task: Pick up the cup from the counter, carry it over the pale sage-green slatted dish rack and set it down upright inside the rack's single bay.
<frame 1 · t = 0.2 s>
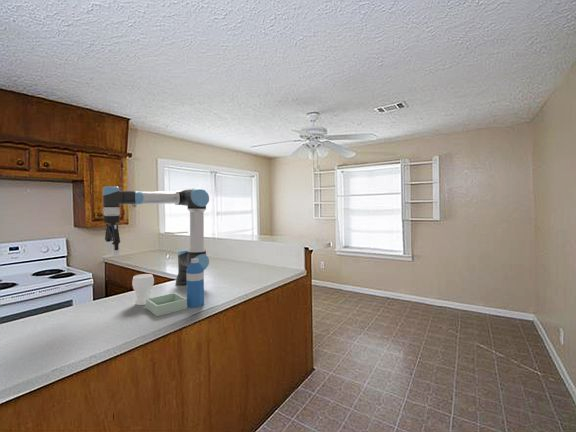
hand: (112, 254, 155), 27 cm above the worktop, fingers open, 13 cm apart
dish rack: (166, 308, 151), on the worktop
water bottle: (195, 304, 157), on the worktop
cup: (143, 303, 160), on the worktop
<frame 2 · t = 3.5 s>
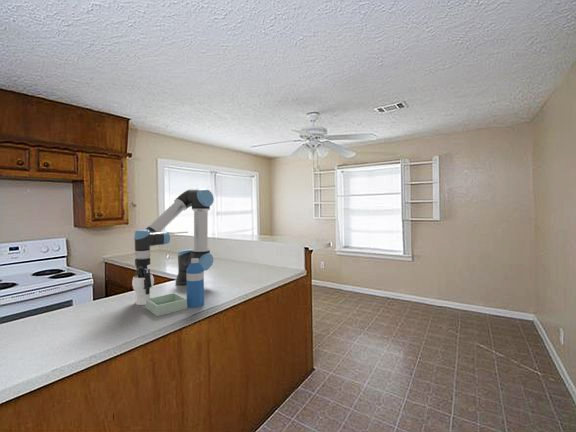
hand: (143, 297, 159), 3 cm above the worktop, fingers closed on cup, 11 cm apart
cup: (143, 303, 160), on the worktop, touching gripper
everything else where it was.
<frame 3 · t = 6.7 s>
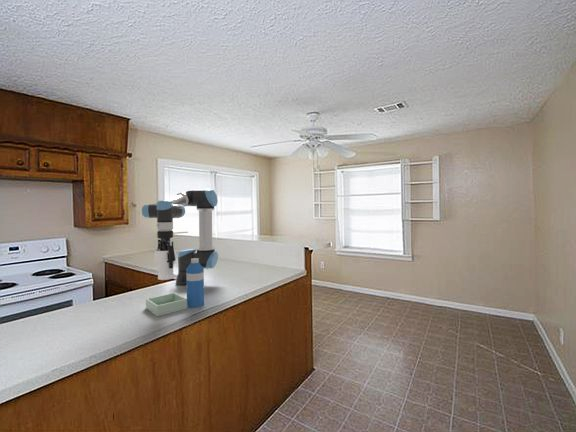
hand: (165, 272, 150), 19 cm above the worktop, fingers closed on cup, 10 cm apart
cup: (165, 278, 150), point 16 cm above the worktop, touching gripper
everything else where it was.
when the fingers open (6 cm above the worktop, at t = 9.9 s): cup drops 2 cm, resting on dish rack.
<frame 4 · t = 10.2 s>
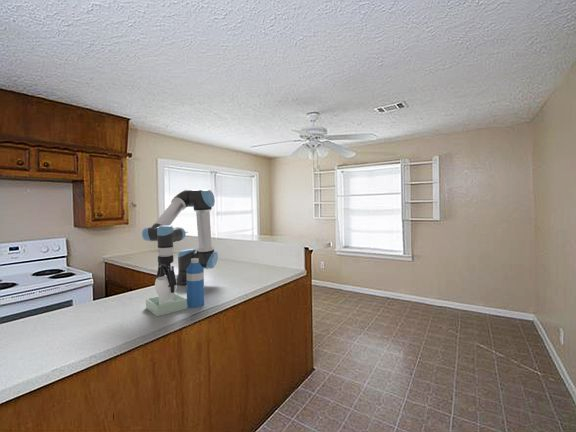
hand: (166, 295, 151), 7 cm above the worktop, fingers open, 13 cm apart
cup: (166, 306, 151), point 1 cm above the worktop, touching dish rack
everything else where it was.
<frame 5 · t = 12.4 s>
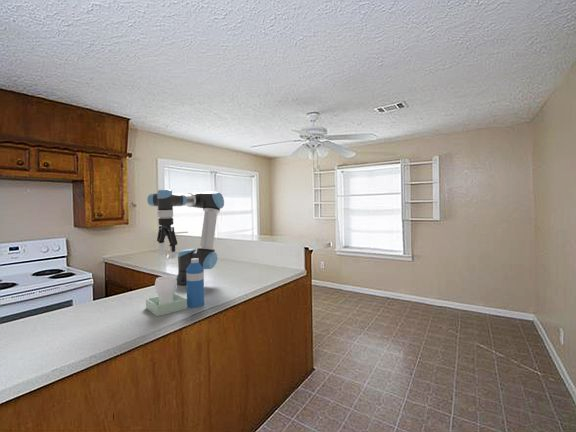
hand: (167, 255, 160), 26 cm above the worktop, fingers open, 13 cm apart
nothing on the worktop moved.
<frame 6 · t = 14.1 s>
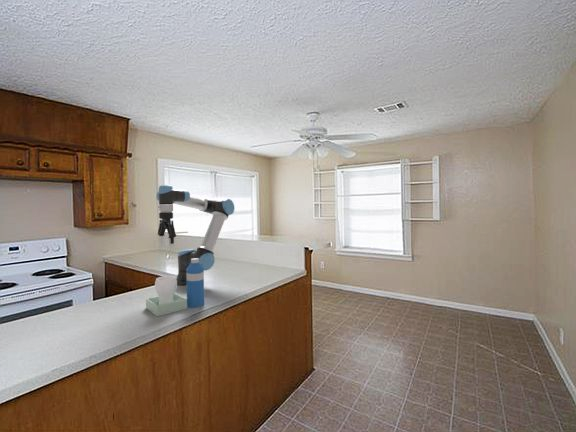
hand: (166, 248, 170), 29 cm above the worktop, fingers open, 13 cm apart
nothing on the worktop moved.
at the end: cup inside the target area on the dish rack (0.0 cm from its centre), point 0.8 cm above the dish rack's base; cup tilted 0°; the gripper is holding nothing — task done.
